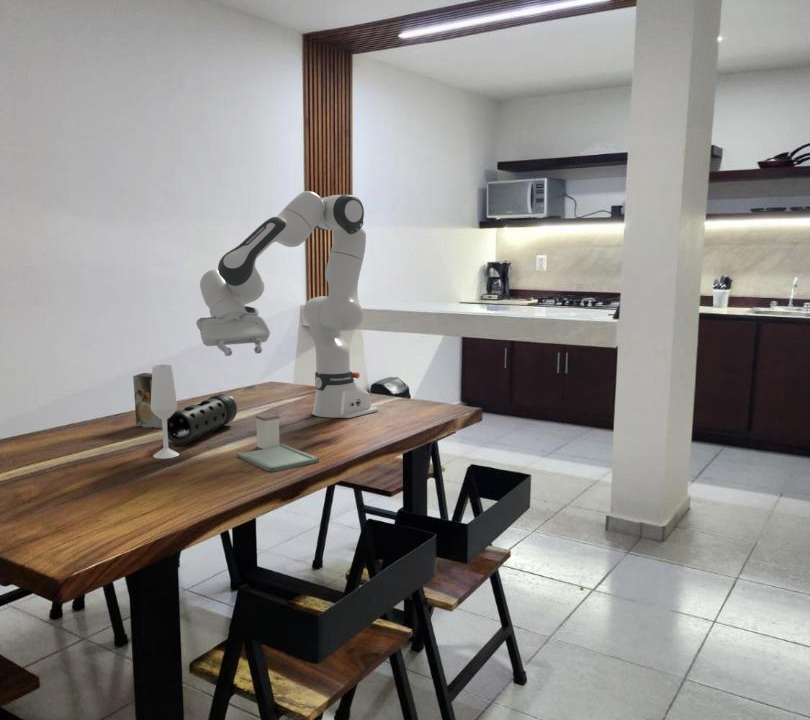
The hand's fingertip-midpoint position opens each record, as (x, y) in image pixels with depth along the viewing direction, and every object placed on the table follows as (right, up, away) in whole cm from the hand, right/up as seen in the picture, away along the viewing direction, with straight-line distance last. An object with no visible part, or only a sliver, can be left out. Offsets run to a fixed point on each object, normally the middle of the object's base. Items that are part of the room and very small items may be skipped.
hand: (244, 353), depth 207 cm
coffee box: (-32, -22, +19) cm, 44 cm away
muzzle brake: (-14, -24, +7) cm, 29 cm away
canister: (+8, -26, -6) cm, 28 cm away
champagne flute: (-18, -27, -14) cm, 35 cm away
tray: (+12, -28, -17) cm, 35 cm away
